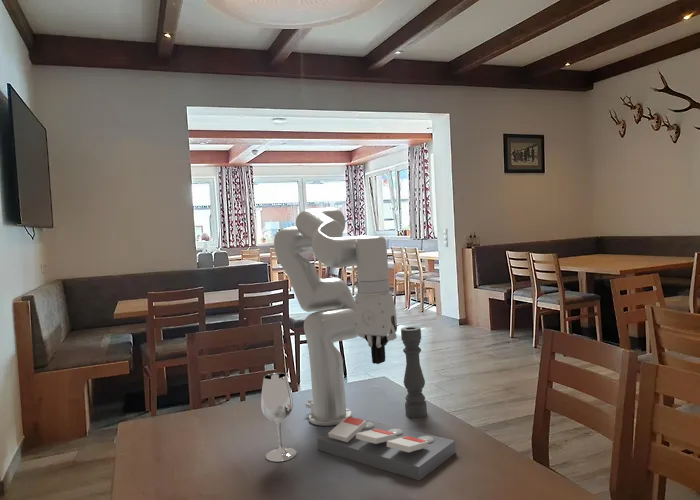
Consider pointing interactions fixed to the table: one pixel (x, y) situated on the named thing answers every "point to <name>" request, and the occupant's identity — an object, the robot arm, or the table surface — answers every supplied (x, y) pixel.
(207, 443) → the table surface
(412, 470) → the power strip
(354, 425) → the rocker
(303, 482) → the table surface
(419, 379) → the candle holder
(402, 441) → the rocker
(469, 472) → the table surface
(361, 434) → the rocker
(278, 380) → the wineglass
